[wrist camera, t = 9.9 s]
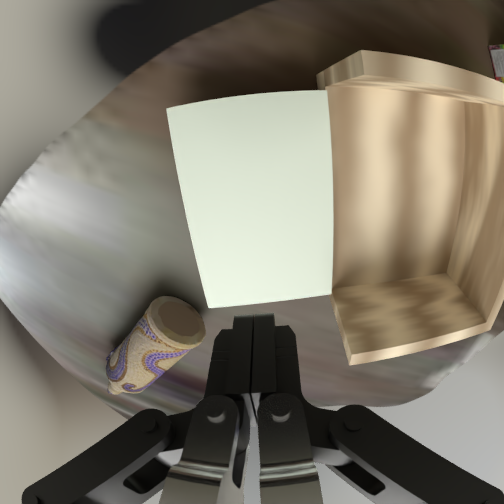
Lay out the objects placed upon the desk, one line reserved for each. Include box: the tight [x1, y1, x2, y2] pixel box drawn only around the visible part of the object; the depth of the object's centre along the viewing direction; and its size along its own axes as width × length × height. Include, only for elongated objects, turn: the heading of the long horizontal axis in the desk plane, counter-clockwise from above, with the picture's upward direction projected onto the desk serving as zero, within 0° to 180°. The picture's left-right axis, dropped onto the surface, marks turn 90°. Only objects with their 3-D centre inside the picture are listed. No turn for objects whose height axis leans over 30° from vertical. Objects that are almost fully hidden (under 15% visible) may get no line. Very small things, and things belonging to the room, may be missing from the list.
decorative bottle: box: [106, 296, 206, 394], centre depth 35 cm, size 26×8×7 cm, turn 139°
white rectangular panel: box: [167, 90, 333, 308], centre depth 23 cm, size 2×18×12 cm
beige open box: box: [316, 50, 504, 365], centre depth 20 cm, size 16×22×12 cm
